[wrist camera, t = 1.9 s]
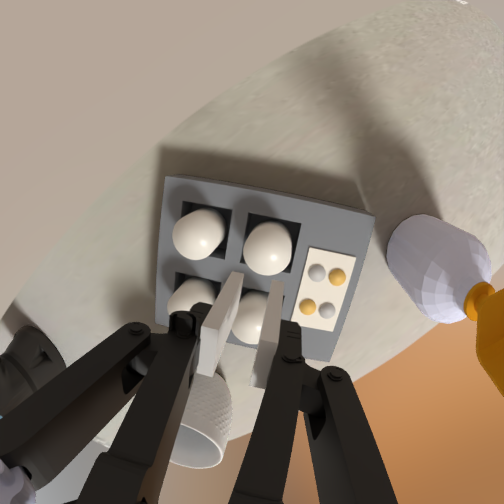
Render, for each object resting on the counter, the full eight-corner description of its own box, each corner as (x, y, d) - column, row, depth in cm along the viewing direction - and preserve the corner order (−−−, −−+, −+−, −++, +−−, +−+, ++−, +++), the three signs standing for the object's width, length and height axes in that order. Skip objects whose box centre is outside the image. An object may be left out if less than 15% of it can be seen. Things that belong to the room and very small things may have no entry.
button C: (235, 318, 35) (228, 339, 30) (241, 285, 33) (234, 303, 29) (272, 326, 34) (269, 348, 30) (280, 293, 33) (277, 312, 29)
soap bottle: (441, 204, 30) (599, 277, 7) (451, 271, 32) (569, 387, 9) (378, 225, 32) (508, 344, 9) (392, 293, 34) (480, 448, 11)
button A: (180, 304, 35) (166, 323, 31) (183, 272, 34) (168, 287, 29) (214, 313, 35) (204, 333, 31) (219, 280, 33) (208, 297, 29)
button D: (246, 255, 32) (239, 270, 28) (254, 216, 31) (247, 224, 26) (286, 264, 32) (285, 279, 28) (295, 224, 30) (295, 234, 26)
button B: (185, 242, 33) (170, 254, 28) (190, 204, 31) (174, 211, 27) (223, 250, 32) (213, 264, 28) (229, 211, 31) (219, 219, 27)
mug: (145, 344, 41) (104, 399, 29) (204, 325, 39) (170, 389, 26) (195, 411, 44) (171, 469, 32) (253, 399, 42) (239, 466, 29)
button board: (166, 308, 39) (153, 324, 35) (179, 174, 33) (163, 176, 29) (326, 344, 37) (329, 364, 33) (366, 210, 32) (377, 217, 27)
